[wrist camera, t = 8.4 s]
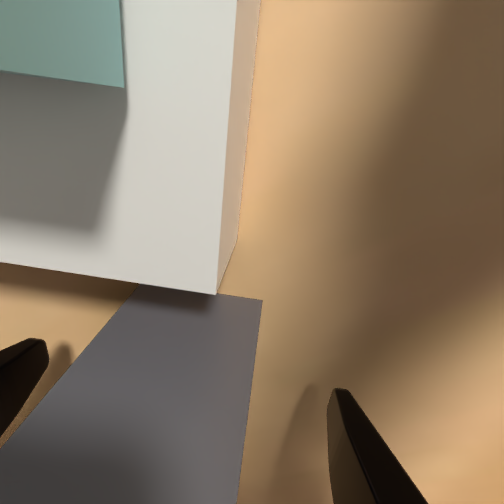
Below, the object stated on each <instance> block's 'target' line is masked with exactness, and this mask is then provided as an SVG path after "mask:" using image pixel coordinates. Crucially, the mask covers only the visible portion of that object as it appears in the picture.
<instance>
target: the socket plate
mask: <svg viewBox="0 0 504 504" xmlns="http://www.w3.org/2000/svg"><path fill="white" fill-rule="evenodd" d="M260 3H261V0H119V9H120V26H121V42H122V59H123V76H124V88H122V87H114V86H106V85H97V84H89V83H81V82H73V81H65V80H57V79H49V78H40V77H32V76H24V75H16V74H8V73H0V262H4V263H11V264H17V265H24V266H30V267H37V268H43V269H50V270H56V271H63V272H69V273H76V274H82V275H89V276H96V277H102V278H109V279H115V280H122V281H128V282H135V283H141V284H148V285H154V286H161V287H167V288H174V289H180V290H187V291H193V292H200V293H206V294H213V295H216V293H217V290H218V288H219V285H220V283H221V280H222V278H223V275H224V272H225V270H226V267H227V265H228V262H229V260H230V257H231V254H232V252H233V249H234V247H235V244H236V241H237V237H238V227H239V216H240V206H241V196H242V186H243V176H244V166H245V156H246V145H247V135H248V125H249V115H250V105H251V95H252V84H253V74H254V64H255V54H256V44H257V34H258V23H259V13H260Z"/></svg>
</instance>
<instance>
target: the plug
mask: <svg viewBox="0 0 504 504" xmlns="http://www.w3.org/2000/svg"><path fill="white" fill-rule="evenodd" d="M262 301H263V300H257V299H250V298H244V297H237V296H231V295H224V294H218V293H216V295H213V294H206V293H200V292H193V291H187V290H180V289H174V288H167V287H161V286H154V285H148V284H141V283H140V285H139V286H138V287H137V288H136V289H135V290H134V292H133V293H132V294H131V295H130V296H129V298H128V299H127V300H126V301H125V302H124V303H123V305H122V306H121V307H120V308H119V309H118V311H117V312H116V313H115V314H114V315H113V316H112V318H111V319H110V320H109V321H108V322H107V323H106V325H105V326H104V327H103V328H102V329H101V331H100V332H99V333H98V334H97V335H96V336H95V338H94V339H93V340H92V341H91V342H90V344H89V345H88V346H87V347H86V348H85V349H84V351H83V352H82V353H81V354H80V355H79V357H78V358H77V359H76V360H75V361H74V362H73V364H72V365H71V366H70V367H69V368H68V369H67V371H66V372H65V373H64V374H63V375H62V377H61V378H60V379H59V380H58V381H57V382H56V384H55V385H54V386H53V387H52V388H51V390H50V391H49V392H48V393H47V394H46V395H45V397H44V398H43V399H42V400H41V401H40V403H39V404H38V405H37V406H36V407H35V408H34V410H33V411H32V412H31V413H30V414H29V415H28V417H27V418H26V419H25V420H24V421H23V423H22V424H21V425H20V426H19V427H18V428H17V430H16V431H15V432H14V433H13V434H12V436H11V437H10V438H9V439H8V440H7V441H6V443H5V444H4V445H3V446H2V447H1V449H0V504H236V503H237V495H238V487H239V480H240V472H241V464H242V456H243V449H244V441H245V433H246V425H247V417H248V410H249V402H250V394H251V386H252V378H253V371H254V363H255V355H256V347H257V339H258V332H259V324H260V316H261V308H262Z"/></svg>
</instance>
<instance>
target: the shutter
mask: <svg viewBox="0 0 504 504" xmlns="http://www.w3.org/2000/svg"><path fill="white" fill-rule="evenodd" d="M0 73H8V74H16V75H24V76H32V77H40V78H49V79H57V80H65V81H73V82H81V83H89V84H97V85H106V86H114V87H122V88H124V76H123V59H122V42H121V26H120V9H119V0H0Z"/></svg>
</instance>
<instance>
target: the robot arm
mask: <svg viewBox="0 0 504 504" xmlns="http://www.w3.org/2000/svg"><path fill="white" fill-rule="evenodd" d="M48 364H49V355H48V350H47V346H46V342H45V341H44V340H42V339H37V338H28V339H26V340H24V341H21V342H19V343H17V344H15V345H12V346H10V347H8V348H6V349H3V350H1V351H0V437H1V435H2V434H3V433H4V432H5V430H6V429H7V428H8V426H9V425H10V424H11V422H12V421H13V420H14V418H15V417H16V415H17V414H18V413H19V411H20V410H21V408H22V407H23V405H24V403H25V402H26V400H27V399H28V397H29V395H30V394H31V392H32V391H33V389H34V388H35V386H36V384H37V383H38V381H39V380H40V378H41V376H42V375H43V373H44V372H45V370H46V369H47V367H48ZM327 432H328V459H329V473H330V482H331V489H332V496H333V503H334V504H428V502H427V501H426V500H425V498H424V497H423V495H422V494H421V492H420V491H419V490H418V488H417V487H416V485H415V484H414V483H413V481H412V480H411V478H410V477H409V475H408V474H407V473H406V471H405V470H404V468H403V467H402V466H401V464H400V463H399V461H398V460H397V458H396V457H395V456H394V454H393V453H392V451H391V450H390V449H389V447H388V446H387V444H386V443H385V441H384V440H383V439H382V437H381V436H380V434H379V433H378V432H377V430H376V429H375V427H374V426H373V424H372V423H371V422H370V420H369V419H368V417H367V416H366V415H365V413H364V412H363V410H362V409H361V407H360V406H359V405H358V403H357V402H356V400H355V399H354V398H353V396H352V395H351V393H350V392H349V391H348V390H346V389H341V388H334V389H333V391H332V394H331V397H330V400H329V403H328V407H327Z"/></svg>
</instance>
